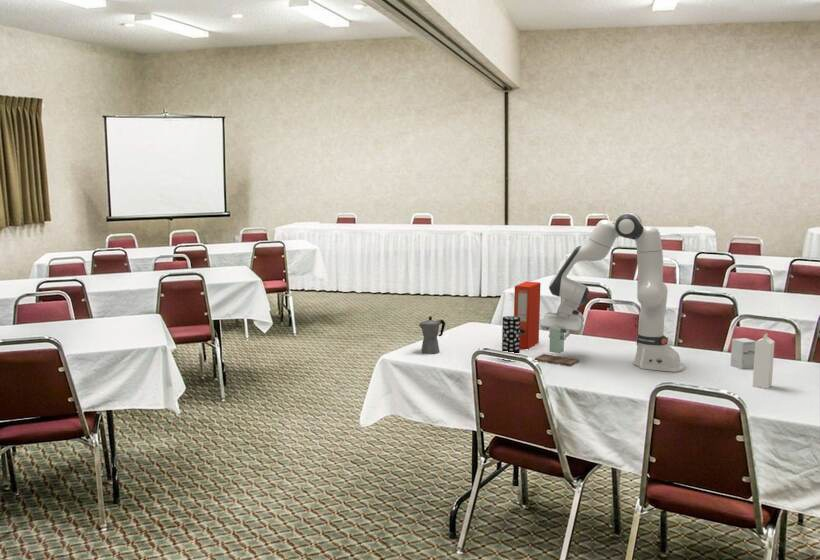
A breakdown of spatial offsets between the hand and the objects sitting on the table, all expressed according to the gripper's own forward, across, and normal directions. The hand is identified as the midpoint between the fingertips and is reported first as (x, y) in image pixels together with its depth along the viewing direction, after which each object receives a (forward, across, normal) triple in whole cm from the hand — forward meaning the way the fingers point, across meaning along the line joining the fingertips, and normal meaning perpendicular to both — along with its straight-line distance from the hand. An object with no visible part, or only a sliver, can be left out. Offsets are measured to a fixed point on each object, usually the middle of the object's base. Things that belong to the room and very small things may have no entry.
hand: (556, 338), depth 344 cm
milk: (0, +87, +15) cm, 88 cm away
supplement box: (-19, +74, +34) cm, 84 cm away
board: (+8, 0, +8) cm, 11 cm away
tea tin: (+4, 0, +5) cm, 6 cm away
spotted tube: (+14, -20, +3) cm, 24 cm away
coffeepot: (+20, -59, -4) cm, 62 cm away
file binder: (-7, -26, +23) cm, 35 cm away
